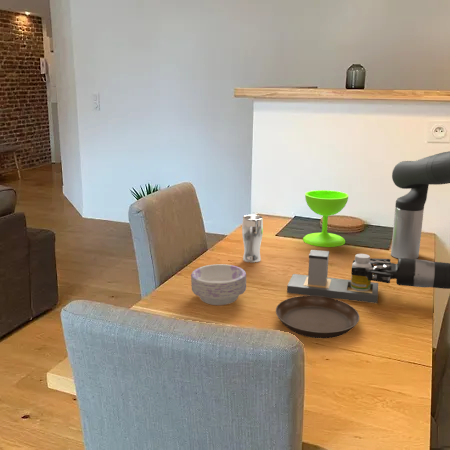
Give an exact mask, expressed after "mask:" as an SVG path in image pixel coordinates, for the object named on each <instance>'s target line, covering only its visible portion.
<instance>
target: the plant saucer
mask: <svg viewBox="0 0 450 450" xmlns="http://www.w3.org/2000/svg"><path fill="white" fill-rule="evenodd" d="M275 313H276V316H277V319H279V321H280V323H282V325H283V326H285V328H287V329H288V330H289V331H290V332H292V333H295V334H297V335H300V336H301V337H305V338H306V337H307V338H311V339H332V338H334V339H335V338H338V337H341V336H343V335H346V334H347V333H349V332H350V331H352V330H353V329H354V328H355V327H356V326H357V324H358V323H359V321H360V314H359V312H358V311H357V310H356V308H354V307H353V306H352V305H350V304H349V303H347V302H344V301H342V300H341V299H335V298H329V297H323V296H310V295H299V296H293V297H290V298H289V297H288V298H287V299H285V300H283V301H281V302H280V303H278V305H277V306H276V308H275Z"/></svg>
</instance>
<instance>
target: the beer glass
mask: <svg viewBox="0 0 450 450" xmlns="http://www.w3.org/2000/svg"><path fill="white" fill-rule="evenodd" d="M263 218H264V217H263V216H262V215H258V214H248V215H247V214H246V215H244V216H242V225H241V226H242V229H241V231H242V232H241V234H242V240H243V241H242V242H243V250H244V251H243V252H244V253H243V255H242V261H243V262H245V263H249V262H250V263H251V264H255V262H256V263H259V262H261V260H262V258H261V252H260V251H261V244H262V240H263V235H264V234H263V233H264V222H263V221H264V220H263Z"/></svg>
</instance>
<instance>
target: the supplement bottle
mask: <svg viewBox="0 0 450 450" xmlns="http://www.w3.org/2000/svg"><path fill="white" fill-rule="evenodd" d="M370 258H371V256H370V255H369V254H366V253H357V254H355V256H354V260H355V262H354V263H353V262H352V264H351V265H352V266H351V268H352V267H361V268H372V265H371V264H370V263H369V261H370ZM350 280H351V288H352V289H354V290H356V291H368V290H369V289H370V285H371V282H372V281H371V280H368V278H366V277H365V276H358V275H352V274H351V279H350Z"/></svg>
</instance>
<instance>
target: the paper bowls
mask: <svg viewBox="0 0 450 450" xmlns="http://www.w3.org/2000/svg"><path fill="white" fill-rule="evenodd" d="M190 279H191V280H190V282H191V283H190V286H191V291H192V293H193V294H194V295H195V296H197V297H199V299H200V300H201V301H202V302H203V303H205V304H208V305H211V306H212V305H213V306H225V305H226V306H227V305H230V304H232V303H234V302H235V301H237V299H238V298H239V297H240V296H241V295H242V294H244V293H245V292H246V290H247V273H246V271H245V270H244V269H243V268H242V267H240V266H236V265H233V264H226V263H225V264H224V263H223V264H222V263H220V264H217V263H215V264H207V265H204V266H200V267H197V268H195V269H194V270H193V271H192V272H191V275H190Z"/></svg>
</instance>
